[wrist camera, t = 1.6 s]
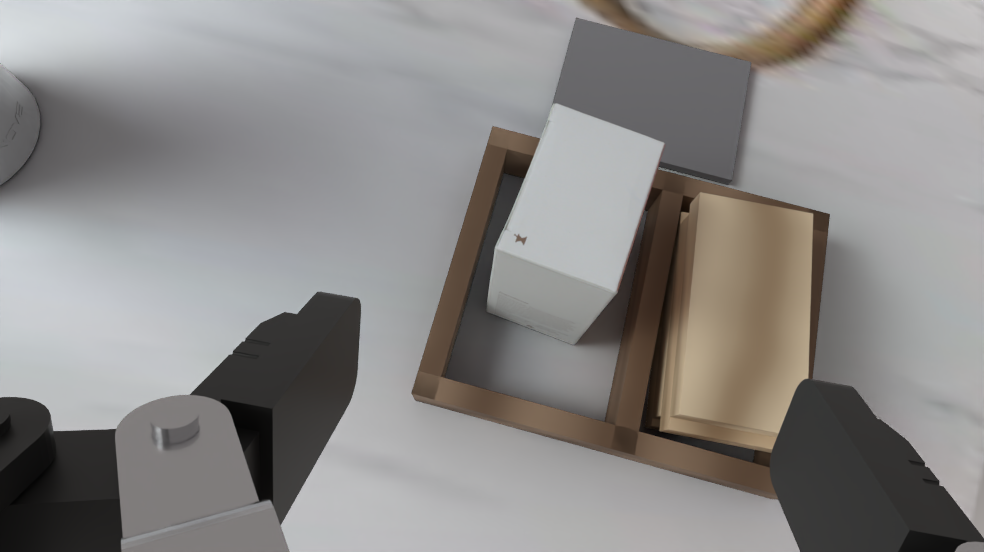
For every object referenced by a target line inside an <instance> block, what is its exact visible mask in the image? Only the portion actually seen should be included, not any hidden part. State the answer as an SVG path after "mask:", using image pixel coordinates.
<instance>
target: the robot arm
mask: <svg viewBox="0 0 984 552" xmlns="http://www.w3.org/2000/svg"><path fill="white" fill-rule="evenodd" d="M39 130H40V111H39V108H38V105H37V103H36V100H35V98H34V96H33V95H32V94H31V92H30V91H29V89H28V88H27V87H26V86H25V85H24V84H23V83H21V82H20V81H19V80H18V79H17V78H16V77H15V76H14V75H13V74H11V73H10V72H9V71H8V70H7V69H6V68H5V67H4V66H3V65H1V64H0V185H1V184H3V183H4V182H6V181H7V180H9V179H10V178H11V177H12V176H13V175H14V174H15V173H16V172H17V171H18V170H19V169H20V168H21V167H22V166H23V165H24V163H25V162H26V160H27V159H28V158H29V156H30V155H31V153H32V151H33V149H34V147H35V144H36V142H37V140H38V136H39ZM360 318H361V304H360V300H359V299H358V298H353V297H347V296H342V295H336V294H330V293H325V292H317V293H316V294H315V295H314V296H313V297H312V298H311V299H310V300H309V302H308V303H307V304H306V305H305V306H304V307H303V308H302V309H301V310H300V311H299V313H298V314H292V313H287V312H284V313H282V314H280V315H277V316H275V317H273V318H271V319H269V320H267V321H264V322H262V323H260V324H259V325H258V326H257V327H256V328H255V329H254V330H253V331H252V332H251V333H250V335H249V336H248V337H247V338H246V340H245V342H242V343H241V344H240V345H239V346H238V347H237V348H236V349H235V350H234V351H233V354H232V355H229V356H228V357H227V358H226V359H225V360H224V361H223V362H222V363H221V364H220V365H219V366H218V367H217V368H216V369H215V370H214V371H213V372H212V373H211V374H210V375H209V376H208V377H207V378H206V379H205V380H204V381H203V382H202V383H201V384H200V385H199V386H198V387H197V388H196V389H195V390H194V391H193V392H192V393H191V394H190V395H178V396H171V397H166V398H161V399H158V400H155V401H151V402H149V403H147V404H144V405H142V406H140V407H138V408H137V409H135V410H133V411H132V412H131V413H129V414H128V415H127V416H126V417H125V418H124V419H123V420H122V421H121V422H120V424H119V425H118V427H117V429H108V430H81V431H53V427H52V421H51V415H50V413H49V410H48V409H47V408H46V407H45V406H44V405H43V404H41V403H39V402H37V401H34V400H31V399H26V398H18V397H2V398H0V552H289V549H288V546H287V543H286V540H285V537H284V535H283V532H282V529H281V526H280V525H281V524H282V522H283V520H284V518H285V517H286V515H287V513H288V511H289V510H290V508H291V506H292V504H293V502H294V501H295V499H296V497H297V495H298V494H299V492H300V490H301V488H302V486H303V485H304V483H305V481H306V479H307V478H308V476H309V474H310V472H311V471H312V469H313V467H314V465H315V463H316V462H317V460H318V458H319V456H320V455H321V453H322V451H323V449H324V447H325V446H326V444H327V442H328V440H329V439H330V437H331V435H332V433H333V432H334V430H335V428H336V426H337V424H338V423H339V421H340V419H341V417H342V416H343V414H344V412H345V410H346V408H347V407H348V405H349V403H350V400H351V398H352V395H353V392H354V388H355V384H356V378H357V370H358V353H359V335H360ZM770 477H771V482H772V485H773V488H774V490H775V492H776V495H777V497H778V500H779V502H780V504H781V507H782V509H783V511H784V514H785V516H786V518H787V521H788V523H789V526H790V528H791V530H792V533H793V535H794V537H795V540H796V542H797V545H798V547H799V549H800V552H984V538H983V537H982V536H981V534H980V533H979V532H978V530H977V529H976V528H975V526H974V525H973V524H972V523H971V521H970V520H969V519H968V518H967V516H966V515H965V514H964V512H963V511H962V510H961V509H960V507H959V506H958V505H957V503H956V502H955V501H954V500H953V498H952V497H951V496H950V494H949V493H948V492H947V491H946V489H945V488H944V487H943V486H939V480H938V479H937V478H936V476H935V475H934V474H933V473H932V471H931V470H930V469H929V468H928V467H925V462H924V461H923V460H922V458H921V457H920V456H919V455H918V453H917V452H916V451H915V449H914V448H913V447H912V446H911V444H910V443H909V442H908V441H907V440H906V439H905V438H903V437H902V436H901V435H900V434H898V433H897V432H896V431H895V430H893V429H892V428H891V427H889V426H888V425H887V424H886V423H884V422H883V421H882V420H880V419H877V418H876V416H875V415H874V414H873V412H872V411H871V410H870V408H869V407H868V406H867V404H866V403H865V402H864V400H863V399H862V398H861V396H860V395H859V394H858V392H857V391H856V390H855V389H854V388H853V387H851V386H847V385H841V384H835V383H830V382H824V381H818V380H813V379H804V380H803V381H801V382H800V384H799V385H798V386H797V388H796V390H795V393H794V395H793V398H792V400H791V403H790V405H789V408H788V411H787V413H786V416H785V418H784V421H783V423H782V426H781V428H780V431H779V433H778V436H777V438H776V441H775V444H774V446H773V449H772V453H771V458H770Z"/></svg>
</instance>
